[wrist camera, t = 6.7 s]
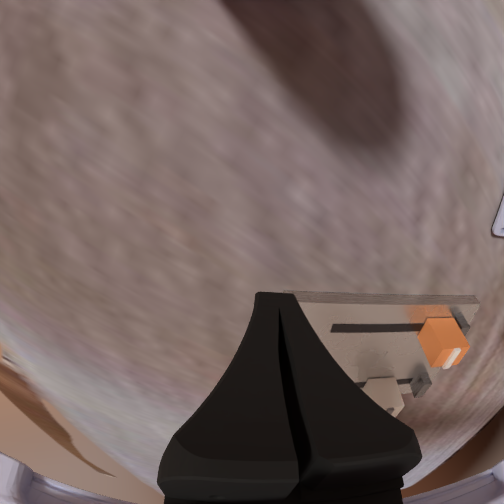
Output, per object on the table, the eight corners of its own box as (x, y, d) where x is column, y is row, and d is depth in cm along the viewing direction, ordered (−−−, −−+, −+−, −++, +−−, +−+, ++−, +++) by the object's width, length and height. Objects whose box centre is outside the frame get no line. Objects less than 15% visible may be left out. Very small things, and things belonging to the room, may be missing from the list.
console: (474, 295, 24) (488, 315, 22) (420, 382, 31) (427, 401, 29) (283, 290, 23) (286, 316, 21) (264, 390, 30) (264, 412, 28)
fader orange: (453, 317, 23) (471, 349, 20) (443, 335, 25) (459, 366, 21) (427, 318, 23) (444, 352, 20) (417, 337, 25) (432, 370, 21)
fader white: (395, 377, 28) (405, 408, 24) (387, 389, 29) (396, 419, 26) (368, 379, 28) (377, 412, 24) (360, 391, 29) (368, 423, 25)
